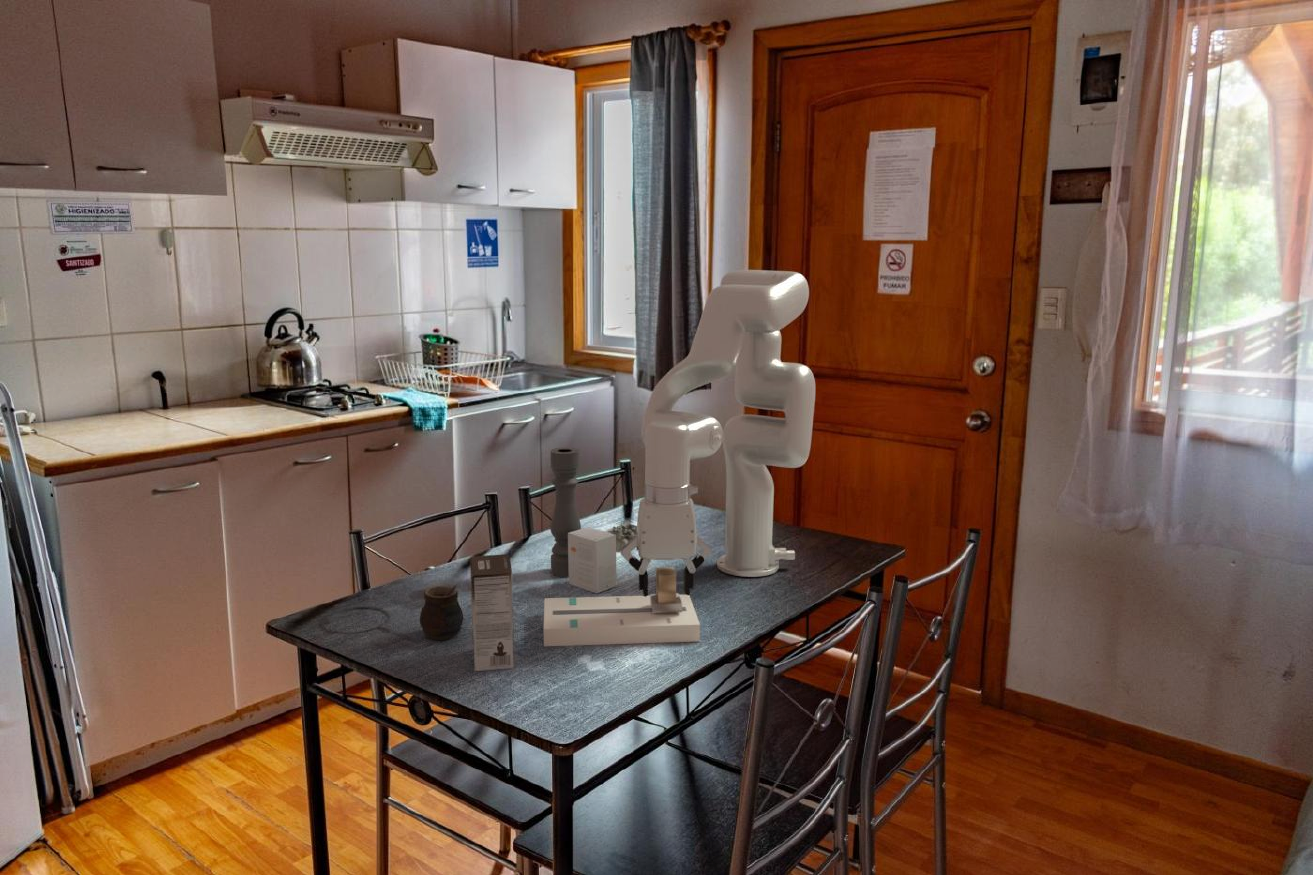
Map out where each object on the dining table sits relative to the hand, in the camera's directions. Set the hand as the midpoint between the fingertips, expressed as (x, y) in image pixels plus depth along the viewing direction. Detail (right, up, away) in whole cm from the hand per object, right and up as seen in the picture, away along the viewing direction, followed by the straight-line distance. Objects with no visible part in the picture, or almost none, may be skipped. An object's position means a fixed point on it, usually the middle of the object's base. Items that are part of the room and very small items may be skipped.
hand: (666, 592), depth 172 cm
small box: (-14, -2, +21) cm, 25 cm away
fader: (0, -3, +1) cm, 3 cm away
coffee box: (-28, -9, -12) cm, 32 cm away
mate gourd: (-38, -7, -3) cm, 39 cm away
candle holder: (-20, 0, +28) cm, 34 cm away
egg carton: (-9, +3, +46) cm, 47 cm away
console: (-8, -6, +1) cm, 10 cm away
